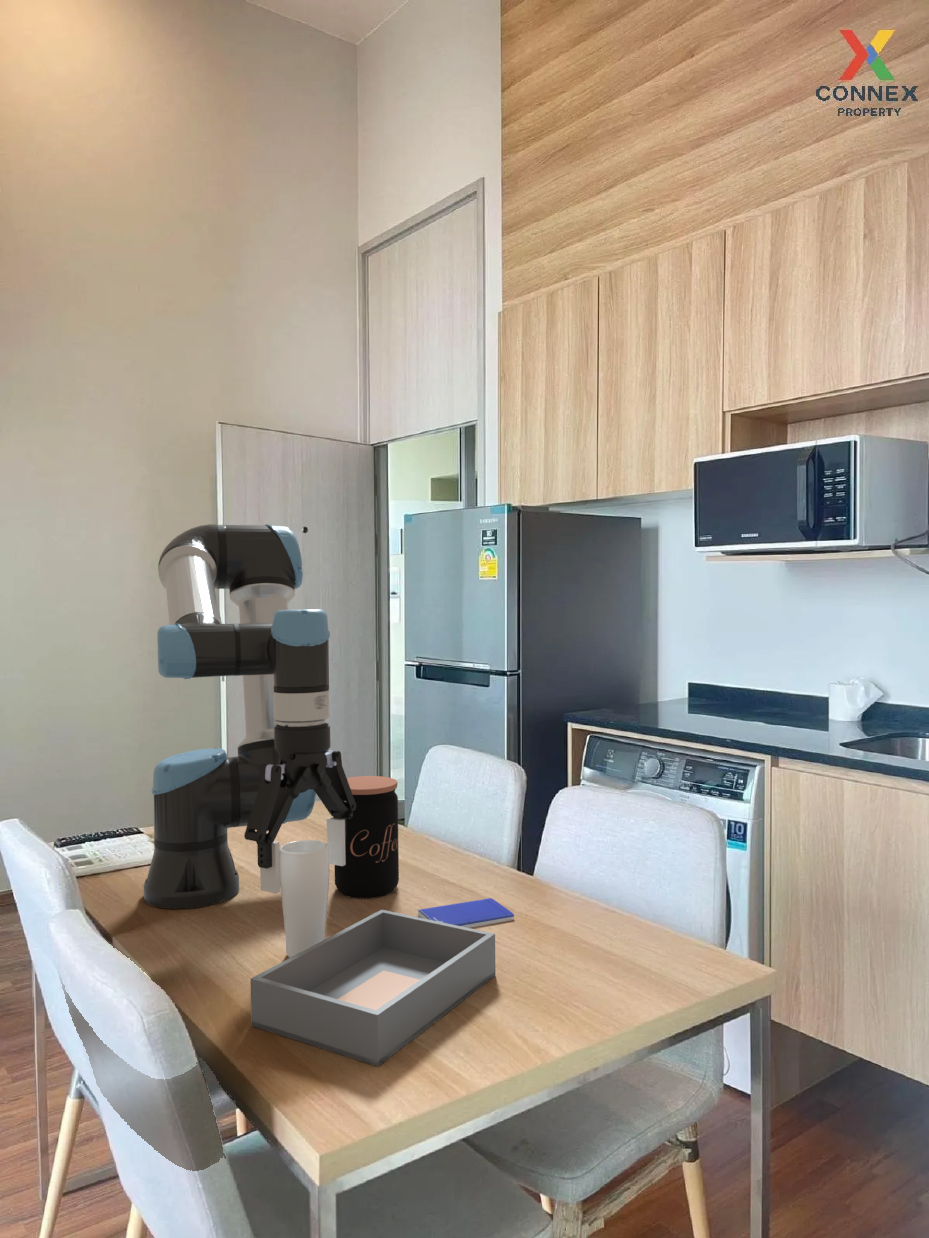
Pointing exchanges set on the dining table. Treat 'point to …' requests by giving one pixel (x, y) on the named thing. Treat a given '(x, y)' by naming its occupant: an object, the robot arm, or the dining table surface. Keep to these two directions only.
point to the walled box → (373, 984)
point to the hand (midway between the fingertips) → (305, 877)
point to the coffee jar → (371, 840)
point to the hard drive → (468, 913)
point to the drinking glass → (304, 893)
